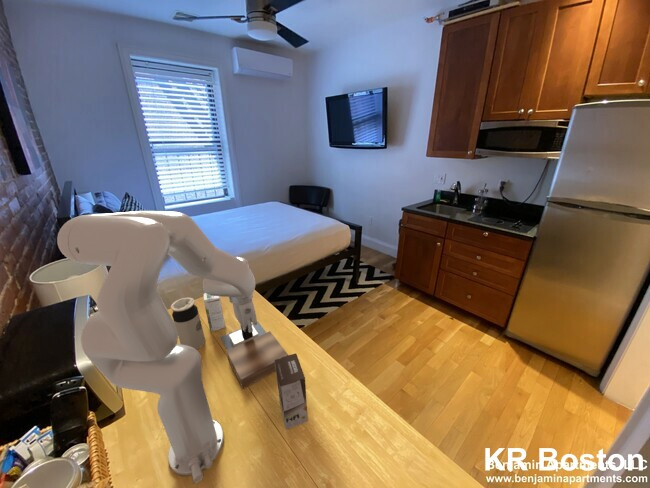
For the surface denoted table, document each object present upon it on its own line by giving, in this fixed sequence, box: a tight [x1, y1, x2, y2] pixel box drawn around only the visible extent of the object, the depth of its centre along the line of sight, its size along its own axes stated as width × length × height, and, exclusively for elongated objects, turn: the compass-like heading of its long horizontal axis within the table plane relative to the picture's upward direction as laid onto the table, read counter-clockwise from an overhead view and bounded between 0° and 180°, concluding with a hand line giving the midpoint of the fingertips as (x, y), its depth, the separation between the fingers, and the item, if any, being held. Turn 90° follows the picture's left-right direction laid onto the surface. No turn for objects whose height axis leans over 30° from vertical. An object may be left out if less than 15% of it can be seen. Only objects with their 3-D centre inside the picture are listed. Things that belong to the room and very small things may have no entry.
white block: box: [229, 325, 259, 347], centre depth 101 cm, size 6×9×2 cm, turn 126°
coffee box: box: [274, 353, 309, 430], centre depth 73 cm, size 9×6×16 cm
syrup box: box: [203, 292, 226, 332], centre depth 106 cm, size 6×6×14 cm
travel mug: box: [170, 297, 206, 351], centre depth 97 cm, size 8×8×18 cm
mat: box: [220, 321, 267, 351], centre depth 102 cm, size 12×15×1 cm
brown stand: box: [226, 330, 289, 390], centre depth 91 cm, size 14×16×4 cm
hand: (247, 337), depth 96 cm, fingers closed
